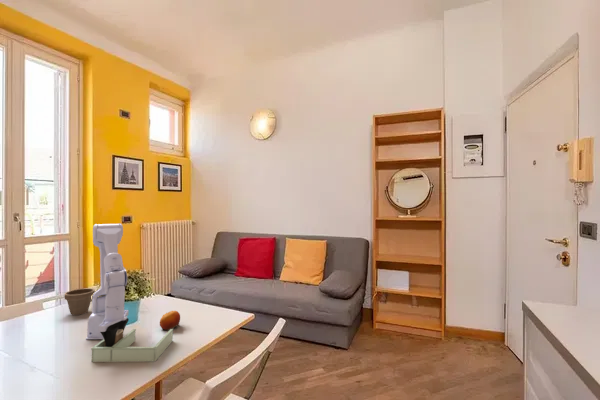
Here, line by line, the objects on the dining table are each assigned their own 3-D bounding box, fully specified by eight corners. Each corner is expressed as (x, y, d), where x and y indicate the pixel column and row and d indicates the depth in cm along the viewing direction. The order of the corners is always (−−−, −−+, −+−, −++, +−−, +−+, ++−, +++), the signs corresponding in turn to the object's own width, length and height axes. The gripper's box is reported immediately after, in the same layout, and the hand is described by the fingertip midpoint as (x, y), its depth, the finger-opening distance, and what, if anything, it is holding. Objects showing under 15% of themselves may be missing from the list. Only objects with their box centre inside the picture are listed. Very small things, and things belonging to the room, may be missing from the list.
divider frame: (90, 362, 96) (91, 348, 96) (116, 341, 110) (117, 329, 110) (155, 361, 97) (155, 348, 97) (172, 340, 111) (173, 329, 111)
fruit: (176, 329, 118) (168, 311, 119) (161, 337, 119) (153, 320, 120) (188, 321, 126) (180, 305, 127) (174, 329, 127) (166, 313, 128)
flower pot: (74, 308, 143) (75, 287, 143) (99, 308, 144) (99, 287, 144) (57, 317, 131) (58, 295, 132) (84, 317, 133) (85, 294, 133)
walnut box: (116, 351, 101) (116, 334, 101) (104, 351, 100) (104, 334, 100) (122, 346, 105) (123, 329, 105) (111, 346, 104) (111, 329, 105)
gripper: (114, 312, 96) (113, 354, 95) (137, 298, 110) (136, 334, 110) (92, 312, 95) (91, 354, 95) (118, 298, 110) (117, 334, 110)
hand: (113, 343), depth 102 cm, fingers closed on walnut box, 4 cm apart
